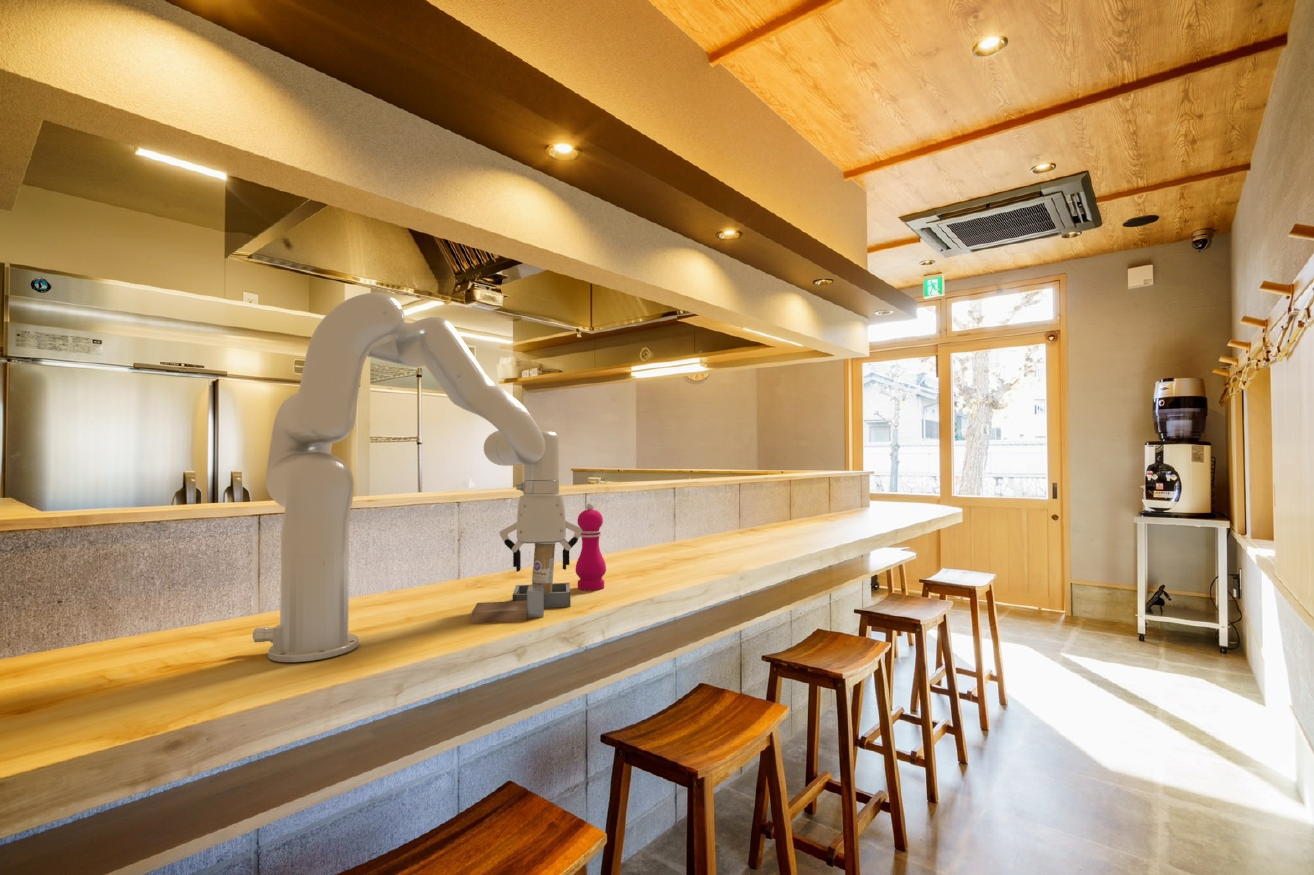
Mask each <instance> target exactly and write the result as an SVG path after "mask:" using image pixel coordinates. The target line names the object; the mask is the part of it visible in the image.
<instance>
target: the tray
mask: <svg viewBox="0 0 1314 875" xmlns="http://www.w3.org/2000/svg"><path fill="white" fill-rule="evenodd" d="M570 584H571V583H570V582H559V583H558V582H557V583H556V582H555V583H552V592H551V593H544V609H550V608H552V609H553V608H567V607H569V608H570V607H571V588H570V587H571V585H570ZM529 585H532V583H531V584H517V585H516V584H515V587H514V590H513V593H512V601H526V600H527V590H528V586H529Z"/></svg>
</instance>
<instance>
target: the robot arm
mask: <svg viewBox="0 0 1314 875" xmlns="http://www.w3.org/2000/svg"><path fill="white" fill-rule="evenodd" d="M306 350H307V351H306V353H305V359H304V364H303V368H302V373H301V379H300V384H299V389H298V391H297V392H296V393H294V394H292V395H290V396H289V397H287V398H286V399H285V400H284V401H283V402H282V403H281V405H280V406H279V408H278V410H277V411H276V415H275V418H274V421H273V426H272V432H271V439H270V445H269V450H268V457H267V465H266V470H265V486H266V490H267V492H268V494H269V496H270V498H271V499H272V500H273V501H274V502H275V504H278V505H279V506H280V507H284V513H283V519H282V524H281V525H282V526H281V536H280V614H279V615H280V620H279V623H278V624H277V625H276V626H273V627H269V626H265V627H261V626H260V627H255V628H254V629H253V632H252V639H253V642H254V643H265V642H270V643H271V644H272V646H271V647H270V648H268V650H267V658H268V659H269V660H271V661H274V662H279V663H303V662H312V661H318V660H319V661H320V660H324V659H330V658H333V657H338V656H339V655H344V654H347V653H348V652H351V651H353V650H354V649H356V648H357V647H358V646H359V645H360V638H359V636H358V635H356V634H354V633H349V594H350V591H349V589H350V588H349V585H350V584H349V581H350V580H349V578H350V576H349V573H350V568H349V566H350V565H349V564H350V560H349V558H350V556H349V555H350V550H349V548H350V539H349V538H350V518H351V510H352V506H353V505H352V504H353V501H354V500H353V499H354V492H355V490H354V489H355V482H354V476H353V473H352V471H351V469H350V467H349V466H348V464H347V463H346V462H345V461H344V460H343V459H342V458H340V457H339V456H338V455H337V456H336V455H334V454H332V447H333V444H336V443H339V442H341V441H343V440H346V439H347V437H349V435H350V434H351V433H352V432H353V429H354V427H355V424H356V417H357V407H358V401H359V400H358V398H359V393H360V392H359V391H360V385H361V379H362V373H363V369H364V365H365V362H366V359H367V358H368V357H369V358H372V359H376V360H380V361H384V362H386V363H392V364H396V365H401V366H405V367H406V366H407V367H412V368H414V367H415V368H416V367H417V368H420V367H426V368H427V370H428V371H429V373H430V375H431V376H433V378H434V379H435V381H436V382H437V383H438V385H439V386H440V388H441V389H442V390H443V391H444V393H445V394H446V395H445V396H447V397H448V399H449V401H451V403H453V404H454V405H456V406H458V407H459V408H461V409H462V410H465V411H468V412H470V413H472V414H475V415H477V416H479V417H481V418H483V419H485V420H486V421H487V422H489V423H490V424H491V425H492V426H493V427H495V428H496V429H497V430H496V431H493V432H492V433H490V434H489V435H488V436H487V437H486V438H485V440H484V442H483V452H484V455H485V456H486V457H485V458H487V460H489V461H490V462H491V463H493V464H495V465H496V466H497V465H498V466H502V467H503V466H505V467H506V466H507V467H508V466H522V468H523V469H522V470H523V472H522V474H523V475H522V476H523V478H522V479H523V481H522V482H521V483H516V484H515V485H516V487H515V488H516V491H520V492H522V493H523V494H522V495H519V498H518V503H517V514H516V515H517V516H516V522H515V523H513V524H511V525H509V526H506V527H505V528H503V529H501V530H500V531H499V535H500V537H501V540H502V541H503V544H504V545H505V546H506V547H507V548H508V549H509V550H510V551H511V552H512V557H513V558H512V566H513V567H512V568H515V569H516V570H515V571H516V572H520V571H521V568H522V567H521V565H522V564H521V561H522V560H521V559H522V557H521V554H522V553H521V549H520V548H521V547H522V545H523V544H535V543H555V544H557V543H559V544H560V545H561V546H562V547H563V549H562V569H563V570H564V571H565V570H567V566H569V565H570V551H571V549H572V548H573V547H574V546H575V545H576V544H577V543H578V542H579V539H580V538H581V537H580V535H581V533H582V529H581V528H580V527H579V526H577V525H575V524H573V523H571V522H569V521H567V520H566V509H565V502H564V501H565V500H564V497H563V496H564V495H563V494H560V469H559V468H560V452H559V451H560V443H559V442H560V440H559V435H558V434H557V433H556V432H555V431H550V430H541V429H540V427H539V426H538V424H537V422H536V421H535V420H534V418H533V417H532V415H531V413H530V412H529V411H528V410H527V408H526V407H525V406H524V405H523V404H522V403H521V402H520V401H519V400H518V399H516V398H515V397H514V396H513V395H511V394H510V393H509V392H507V390H505V389H504V388H502V386H500V385H499V384H497V383H496V382H494V381H493V380H492V379H491V378H490V377H489V376H488V374H487V373H486V372H485V370H484V369H483V367H482V365H481V364H480V363H479V361H478V360H477V358H476V356H475V355H474V354H473V352H472V351H471V350H470V348H469V346H468V345H467V344H466V342H465V341H464V338H463V337H462V336H461V335H460V333H459V332H458V330H457V329H456V327H454V325H453V324H452V323H451V322H450V321H449V320H448V319H446V318H445V317H444V318H443V317H440V316H430V317H425V318H421V319H419V320H416V321H414V322H406V321H405V312H404V309H403V307H402V304H401V303H400V302H399V301H398V300H397V299H396V298H395V297H393V296H392V295H390V294H388V293H384V292H367V293H362V294H358V295H354V296H353V297H350V298H348V299H346V300H344V301H343V302H340V303H339V304H338V305H337V306H335V307H333V309H332V310H330V311H329V312H328V313H327V314H326V315H325V316H324V317H323V318H322V319H321V321H320V322H319V323H318V325H317V326H316V328H315V329H314V331H313V333H312V335H311V338H310V341H309V343H308V347H307V349H306ZM566 529H568V530H570V531H572V532H574V534H573V536H572V538H571V539H570V540H569V541H568V540H567V539H566V532H567V531H566ZM514 531H516V539H517V540H516V542H515V543H514V541H513V540H511V539H510V537H509V534H511V533H512V532H514Z"/></svg>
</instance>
